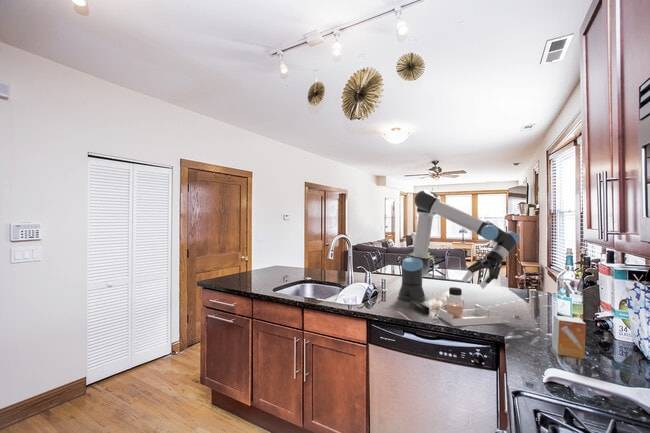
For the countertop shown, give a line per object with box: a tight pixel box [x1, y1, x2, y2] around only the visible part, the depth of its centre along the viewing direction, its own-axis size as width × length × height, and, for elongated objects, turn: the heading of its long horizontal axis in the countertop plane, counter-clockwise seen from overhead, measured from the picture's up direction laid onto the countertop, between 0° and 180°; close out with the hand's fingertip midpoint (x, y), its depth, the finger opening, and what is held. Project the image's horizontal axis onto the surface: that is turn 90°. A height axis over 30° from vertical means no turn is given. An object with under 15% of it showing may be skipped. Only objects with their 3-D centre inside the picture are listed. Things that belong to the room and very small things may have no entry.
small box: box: [551, 314, 587, 360], centre depth 113 cm, size 8×6×13 cm
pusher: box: [474, 303, 491, 317], centre depth 147 cm, size 8×4×5 cm, turn 13°
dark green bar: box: [407, 300, 430, 315], centre depth 157 cm, size 5×3×15 cm
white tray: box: [436, 308, 504, 327], centre depth 145 cm, size 14×26×5 cm, turn 103°
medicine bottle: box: [446, 286, 465, 310], centre depth 160 cm, size 7×7×12 cm
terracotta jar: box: [446, 302, 463, 319], centre depth 143 cm, size 7×7×7 cm
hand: (472, 283), depth 162 cm, fingers open, 13 cm apart
